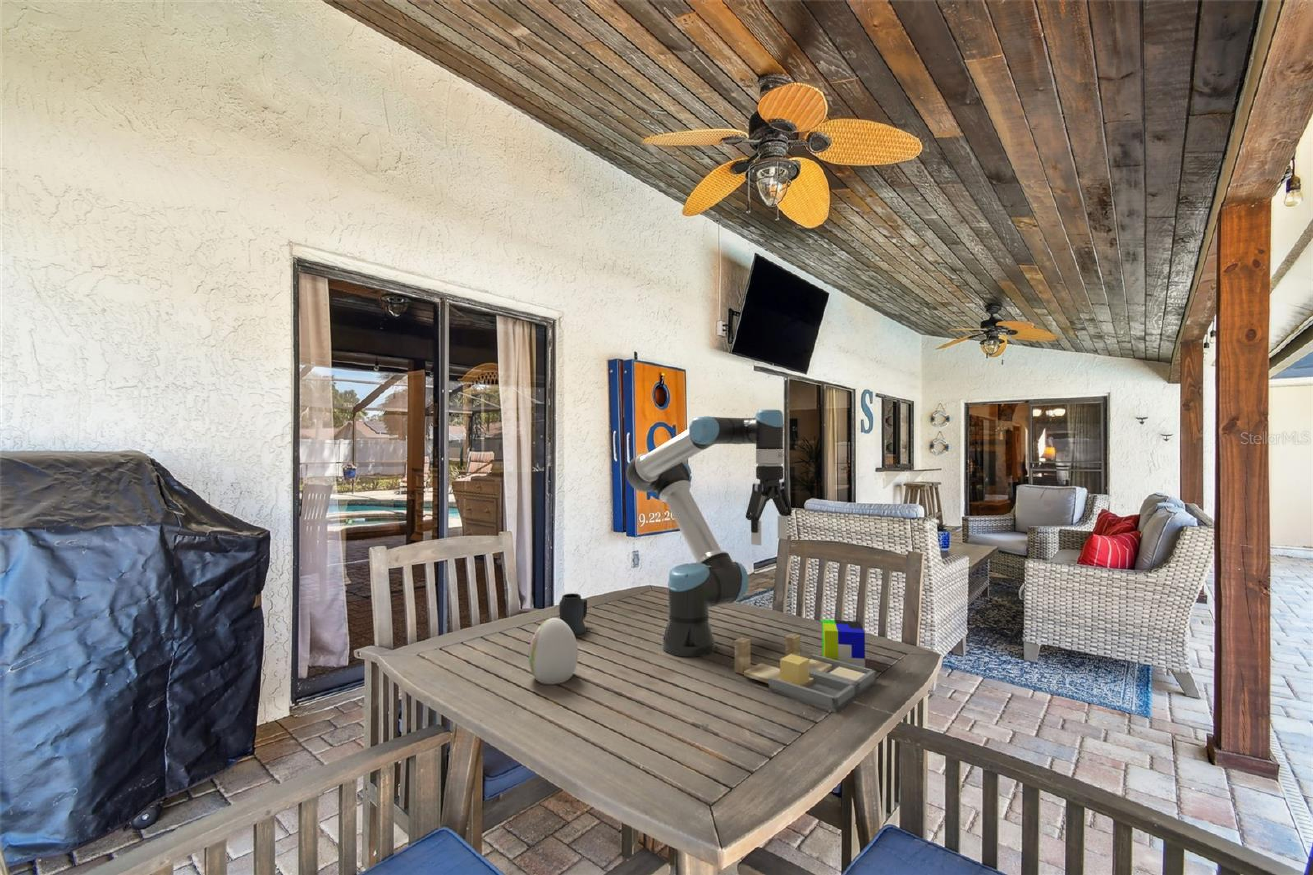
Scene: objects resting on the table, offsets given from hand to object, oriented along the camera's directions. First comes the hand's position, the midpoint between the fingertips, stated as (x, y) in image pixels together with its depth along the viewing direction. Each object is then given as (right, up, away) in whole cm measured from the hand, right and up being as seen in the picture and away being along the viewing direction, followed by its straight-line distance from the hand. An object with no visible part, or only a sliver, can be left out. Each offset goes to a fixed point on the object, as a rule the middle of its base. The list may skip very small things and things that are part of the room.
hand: (769, 541), depth 164 cm
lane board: (+9, -32, -21) cm, 39 cm away
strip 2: (+7, -31, -12) cm, 34 cm away
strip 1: (-3, -31, -18) cm, 36 cm away
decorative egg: (-57, -32, -15) cm, 67 cm away
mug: (-58, -32, +23) cm, 70 cm away
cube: (+2, -29, -22) cm, 37 cm away
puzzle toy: (+19, -32, -5) cm, 37 cm away
